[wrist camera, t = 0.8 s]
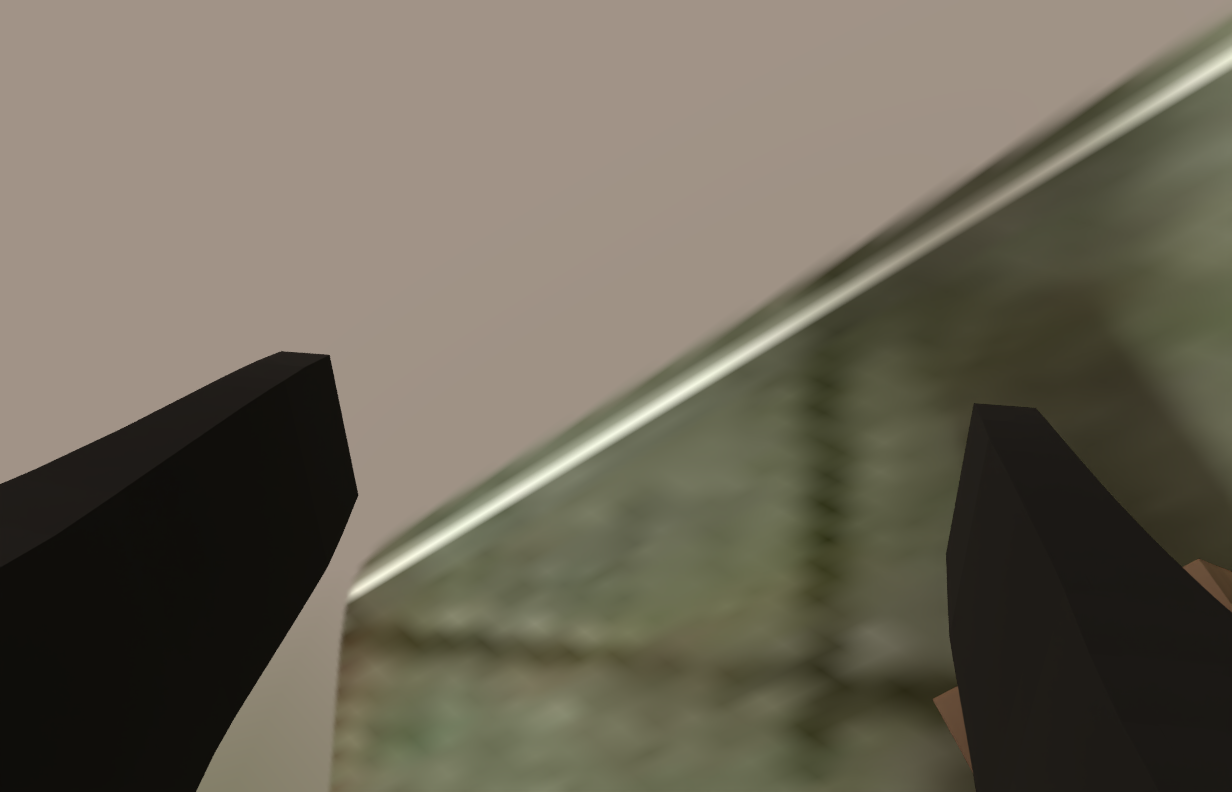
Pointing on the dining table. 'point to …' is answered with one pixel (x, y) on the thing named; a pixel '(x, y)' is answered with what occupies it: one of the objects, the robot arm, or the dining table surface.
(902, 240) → the dining table surface
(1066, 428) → the dining table surface
